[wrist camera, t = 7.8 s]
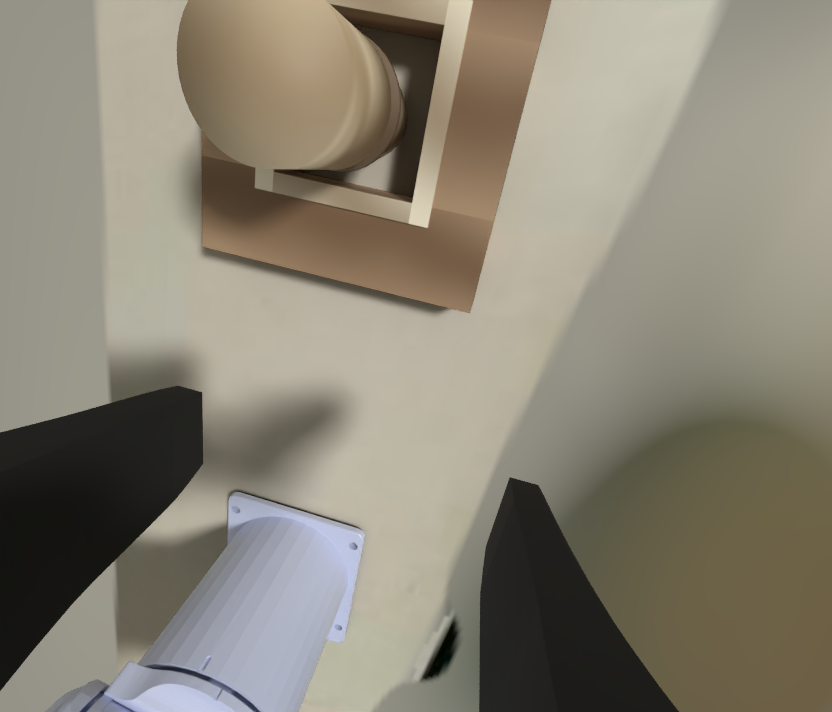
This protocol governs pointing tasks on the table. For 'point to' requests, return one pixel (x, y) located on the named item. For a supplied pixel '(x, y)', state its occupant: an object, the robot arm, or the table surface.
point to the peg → (288, 84)
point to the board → (437, 174)
